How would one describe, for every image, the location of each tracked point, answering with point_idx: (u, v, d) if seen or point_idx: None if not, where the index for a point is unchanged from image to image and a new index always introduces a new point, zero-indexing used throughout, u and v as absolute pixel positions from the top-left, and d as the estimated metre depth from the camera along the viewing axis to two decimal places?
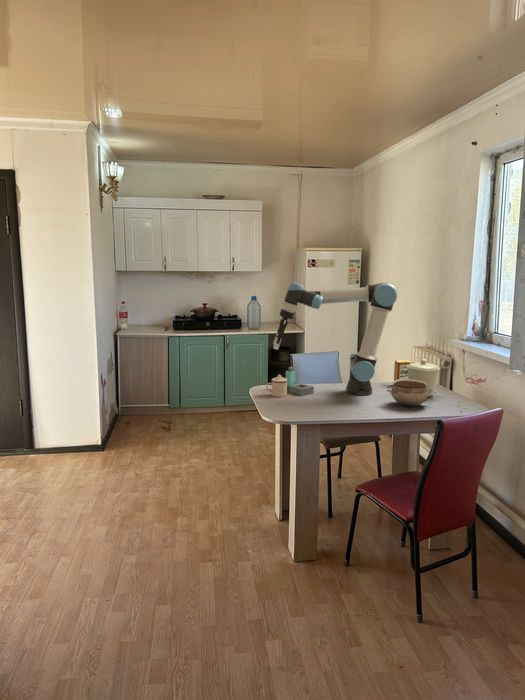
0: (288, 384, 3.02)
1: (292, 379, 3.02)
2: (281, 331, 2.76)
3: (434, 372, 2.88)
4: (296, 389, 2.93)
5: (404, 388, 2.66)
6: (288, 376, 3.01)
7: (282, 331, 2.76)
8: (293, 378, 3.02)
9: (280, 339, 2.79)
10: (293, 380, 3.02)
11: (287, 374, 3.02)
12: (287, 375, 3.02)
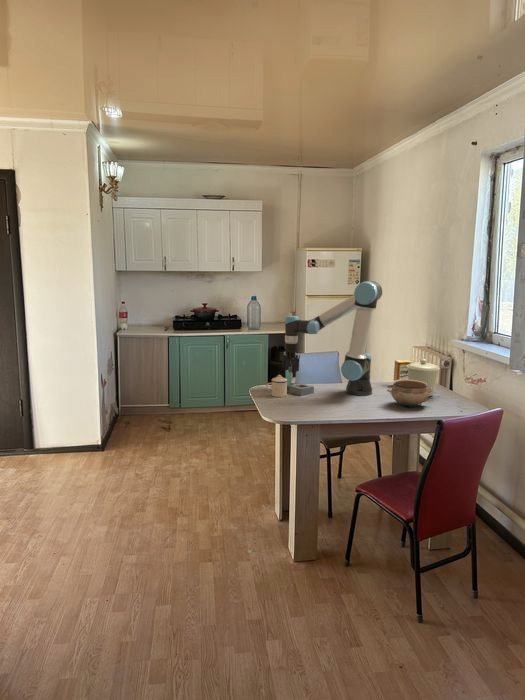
0: (288, 384, 3.02)
1: None
2: (297, 366, 2.97)
3: (434, 372, 2.88)
4: (296, 389, 2.93)
5: (404, 388, 2.66)
6: (288, 376, 3.01)
7: (297, 365, 2.98)
8: None
9: None
10: None
11: (287, 374, 3.02)
12: (287, 375, 3.02)
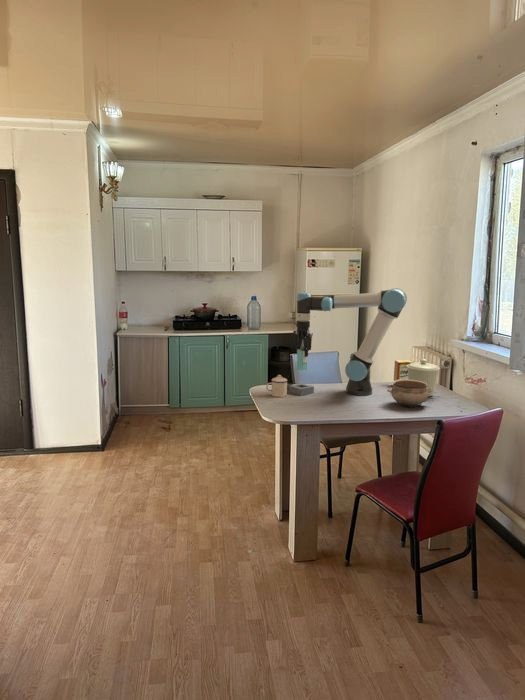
0: (300, 363, 2.93)
1: None
2: (309, 344, 2.88)
3: (434, 372, 2.88)
4: (296, 389, 2.93)
5: (404, 388, 2.66)
6: (300, 355, 2.92)
7: (310, 344, 2.88)
8: None
9: None
10: None
11: (299, 353, 2.92)
12: (299, 354, 2.93)
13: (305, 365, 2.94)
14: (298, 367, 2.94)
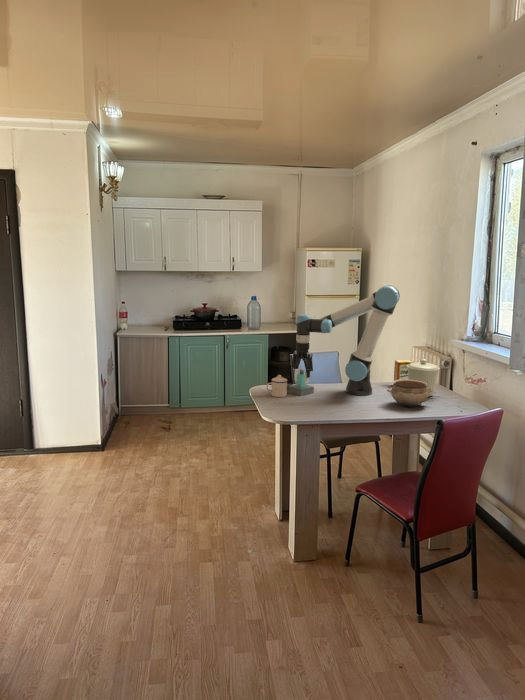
0: None
1: (303, 382, 2.94)
2: (310, 365, 2.89)
3: (434, 372, 2.88)
4: (296, 389, 2.93)
5: (404, 388, 2.66)
6: (299, 379, 2.94)
7: (311, 365, 2.89)
8: (304, 381, 2.95)
9: None
10: (304, 383, 2.95)
11: (298, 377, 2.95)
12: (298, 378, 2.95)
13: None
14: None
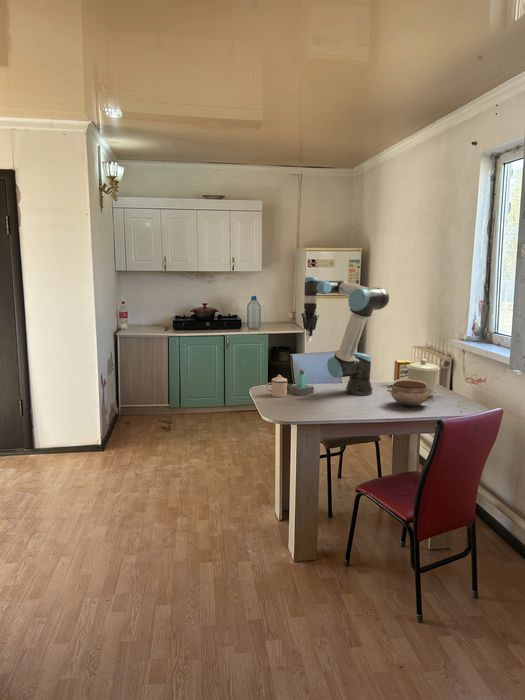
0: None
1: (303, 382, 2.94)
2: (314, 325, 3.12)
3: (434, 372, 2.88)
4: (296, 389, 2.93)
5: (404, 388, 2.66)
6: (299, 379, 2.94)
7: (315, 325, 3.12)
8: (304, 381, 2.95)
9: None
10: (304, 383, 2.95)
11: (298, 377, 2.95)
12: (298, 378, 2.95)
13: None
14: None
